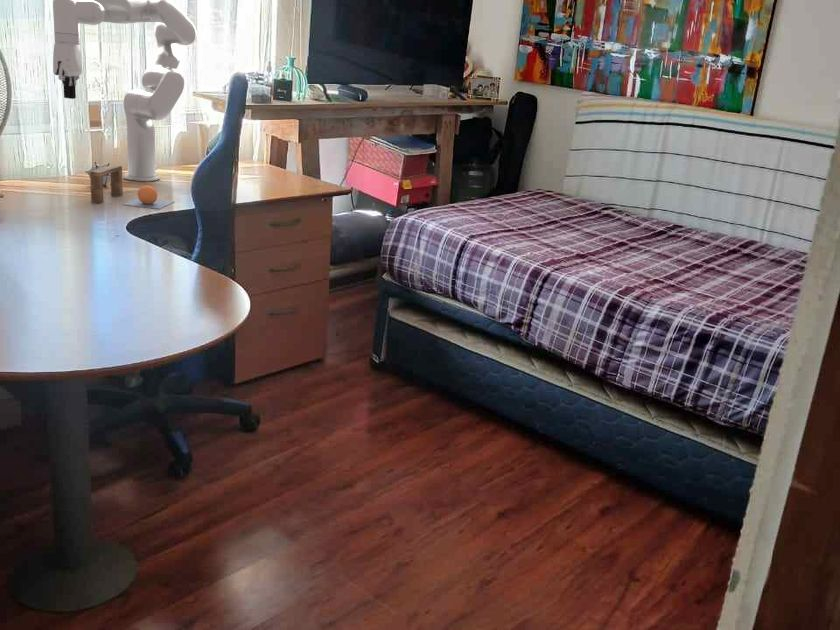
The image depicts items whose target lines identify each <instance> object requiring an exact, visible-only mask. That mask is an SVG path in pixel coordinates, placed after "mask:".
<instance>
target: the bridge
mask: <svg viewBox="0 0 840 630" xmlns="http://www.w3.org/2000/svg"><path fill="white" fill-rule="evenodd" d="M109 173H111V180H110V196H116V197H121V196H123V192H124V191H123V166H122V165H118V164H117V165H116V164H112V165H109V166H108V167H104V168H101V169H97V170H94V171H90V177H89V179H90V201H91V203H94V202H96V204H102V202H103V203H104V185H103V175H106V174H109Z"/></svg>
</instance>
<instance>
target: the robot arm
mask: <svg viewBox="0 0 840 630" xmlns="http://www.w3.org/2000/svg"><path fill="white" fill-rule="evenodd" d="M52 14H53V15H52V17H53V30H54V31H53V32H54V33H53V34H54V35H53V37H54V43H53V44H54V45H53V51H52V52H53V53H52V54H53V56H52V71H53V74H54V75H55V76H58V77H57V78H58V80H59V81H61V82H62V86H63V98H64V99H72V100H73V99H77V97H76V95H77V94H76V93H77V92H76V85H77V81H78V80H79V79H80V76H81V75H82V73H83V65H82V64H83V63H82V53H81V48H80V47H81V36H80V35H81V33H80V30H81V29H80V24H81V25H82V24H83V25H87V26H88V25H90V26H96V25H99V24H101V23H102V22H104V23H110V24H122V25H123V24H138V23H139V24H140V23H141V24H142V23H155V25H154V31H153V33H154V35H155V39H156V42H157V43H156V44H157V45H156V46H157V50H156V53H155V54H154V57H153V58H152V60H151V61H150V63H149V65H148V67H146V69H145V71H144V73H143V75H142V78H141V84H142V87H143V88H144V89H138V88H136V89H132V90H129V91H127V93H126V94H125V95H124V96H123V109H124V114H125V119H126V142H127V143H126V146H127V172H125V173H123V179H126V180H129V181H134V182H135V181H136V182H153V181H155V182H156V181H159V180H160V178H161V176H160V175H159V174H157V173H156V171H157V170H158V169H159V166H158V165H157V164H156V131H155V130H156V129H155V125H154V122H153V120H154V121H162V120H165V119H166V118H167V117H168V116H169V114H170V113H171V112H172V110H173V109H174V107H175V105H176V104H177V102H178V101H179V98H180V97H181V95H182V93H183V92H184V88H185V78H184V75H183V74H182V73H181V72H180V71H179V70H178V66H179V64H180V61H181V58H180V57H181V56H180V51H179V48H178V45H181V46H189V45H191V44H193V43H194V42H195V40H196V38H197V28H196V26H195V25H194V23H193V22H192V21H191V19H190V18H189V17H188V16H187V15H186V13H184V12H183V11H182V9H180V7H179V6H177V5H176V4H175V2H174V1H173V0H52ZM158 179H159V180H158Z"/></svg>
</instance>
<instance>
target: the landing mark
mask: <svg viewBox="0 0 840 630" xmlns="http://www.w3.org/2000/svg"><path fill="white" fill-rule="evenodd" d="M174 203H175V201H171V200H164V199H162V200H161V199H156V201H155V202H154V203H152V204H144V203H142V202H141V201H140V200H139V198H138V197H137V198H135V199H133V200H130V201H127V202H125V203H123V204H122V205H123V206H128V205H130V207H136V206H137V208H146V209H153V210H154V209H155V210H160V209H161V210H162V209H163V208H165V207H167V206H170V205H171V204H174ZM122 205H121V206H122Z"/></svg>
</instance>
